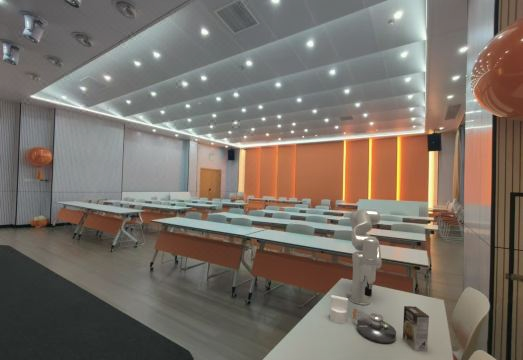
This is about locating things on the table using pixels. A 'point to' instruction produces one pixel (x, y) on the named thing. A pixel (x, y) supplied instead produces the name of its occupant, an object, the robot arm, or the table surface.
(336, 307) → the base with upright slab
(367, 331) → the dark round disc base
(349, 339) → the table surface
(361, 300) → the robot arm
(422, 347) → the coffee box
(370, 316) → the orange-tipped joystick
